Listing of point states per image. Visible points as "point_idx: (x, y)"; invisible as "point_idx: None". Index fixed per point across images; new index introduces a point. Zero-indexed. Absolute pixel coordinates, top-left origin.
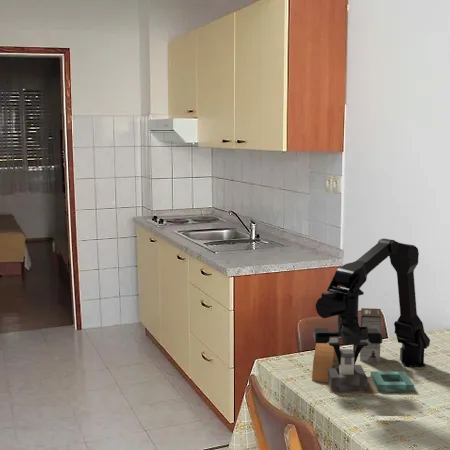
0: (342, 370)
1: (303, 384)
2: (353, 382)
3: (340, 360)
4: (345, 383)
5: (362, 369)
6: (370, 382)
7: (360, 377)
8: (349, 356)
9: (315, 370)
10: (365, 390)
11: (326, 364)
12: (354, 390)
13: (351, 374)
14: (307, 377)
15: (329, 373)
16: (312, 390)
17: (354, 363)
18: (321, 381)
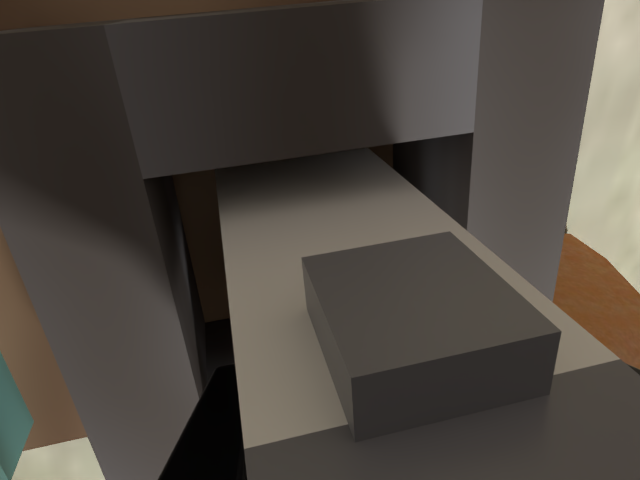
0: (420, 214)
1: (635, 208)
2: (222, 12)
3: None
4: (346, 1)
5: (83, 400)
6: (15, 314)
7: (85, 38)
8: (410, 443)
9: (631, 312)
10: (42, 23)
11: None
12: (201, 11)
13: (256, 212)
14: None
15: (557, 198)
16: (605, 85)
17: (217, 383)
18: None
